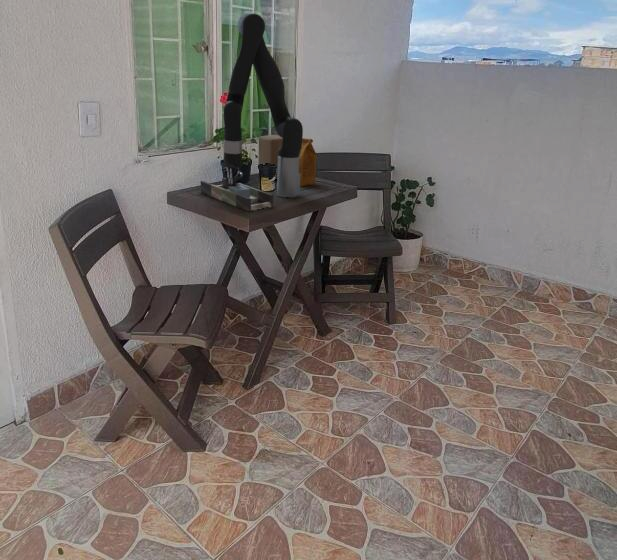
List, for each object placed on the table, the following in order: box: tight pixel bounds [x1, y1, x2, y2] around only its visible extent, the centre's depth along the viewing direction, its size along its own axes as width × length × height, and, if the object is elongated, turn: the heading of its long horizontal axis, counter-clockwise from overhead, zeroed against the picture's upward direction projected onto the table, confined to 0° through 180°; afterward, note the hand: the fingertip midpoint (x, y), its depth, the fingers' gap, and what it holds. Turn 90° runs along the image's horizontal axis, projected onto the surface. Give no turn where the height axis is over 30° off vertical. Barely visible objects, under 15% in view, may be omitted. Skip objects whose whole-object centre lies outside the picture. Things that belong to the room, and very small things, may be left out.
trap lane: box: [200, 177, 274, 212], centre depth 234 cm, size 12×35×5 cm, turn 42°
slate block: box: [229, 185, 250, 198], centre depth 230 cm, size 6×7×4 cm
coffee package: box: [299, 137, 317, 187], centre depth 262 cm, size 10×12×22 cm
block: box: [257, 134, 283, 179], centre depth 271 cm, size 10×10×20 cm
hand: (232, 192), depth 235 cm, fingers closed
